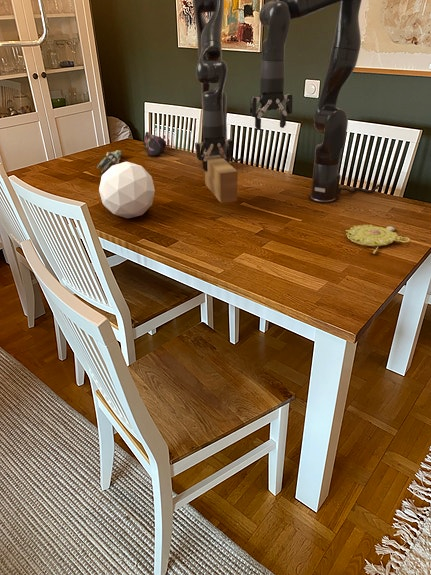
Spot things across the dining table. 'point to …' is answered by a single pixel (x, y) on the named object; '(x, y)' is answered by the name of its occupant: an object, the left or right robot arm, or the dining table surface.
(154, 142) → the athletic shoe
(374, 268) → the dining table surface
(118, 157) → the figurine
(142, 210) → the sphere
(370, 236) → the decorative object
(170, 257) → the dining table surface
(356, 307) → the dining table surface
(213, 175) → the box
